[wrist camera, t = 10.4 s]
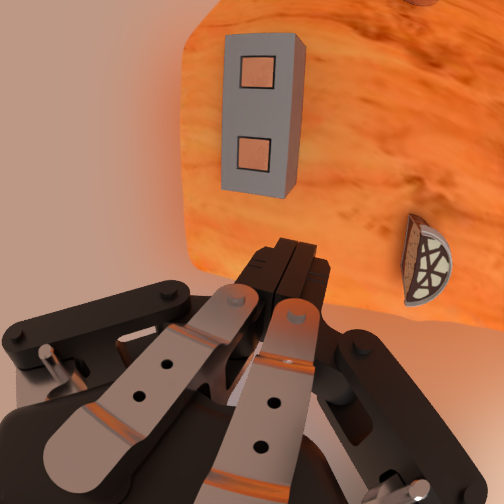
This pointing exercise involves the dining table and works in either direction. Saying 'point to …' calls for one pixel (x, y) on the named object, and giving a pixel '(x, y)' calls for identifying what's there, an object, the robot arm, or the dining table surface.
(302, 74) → the guide block
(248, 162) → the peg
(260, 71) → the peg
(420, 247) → the half cake
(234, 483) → the robot arm
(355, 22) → the dining table surface
